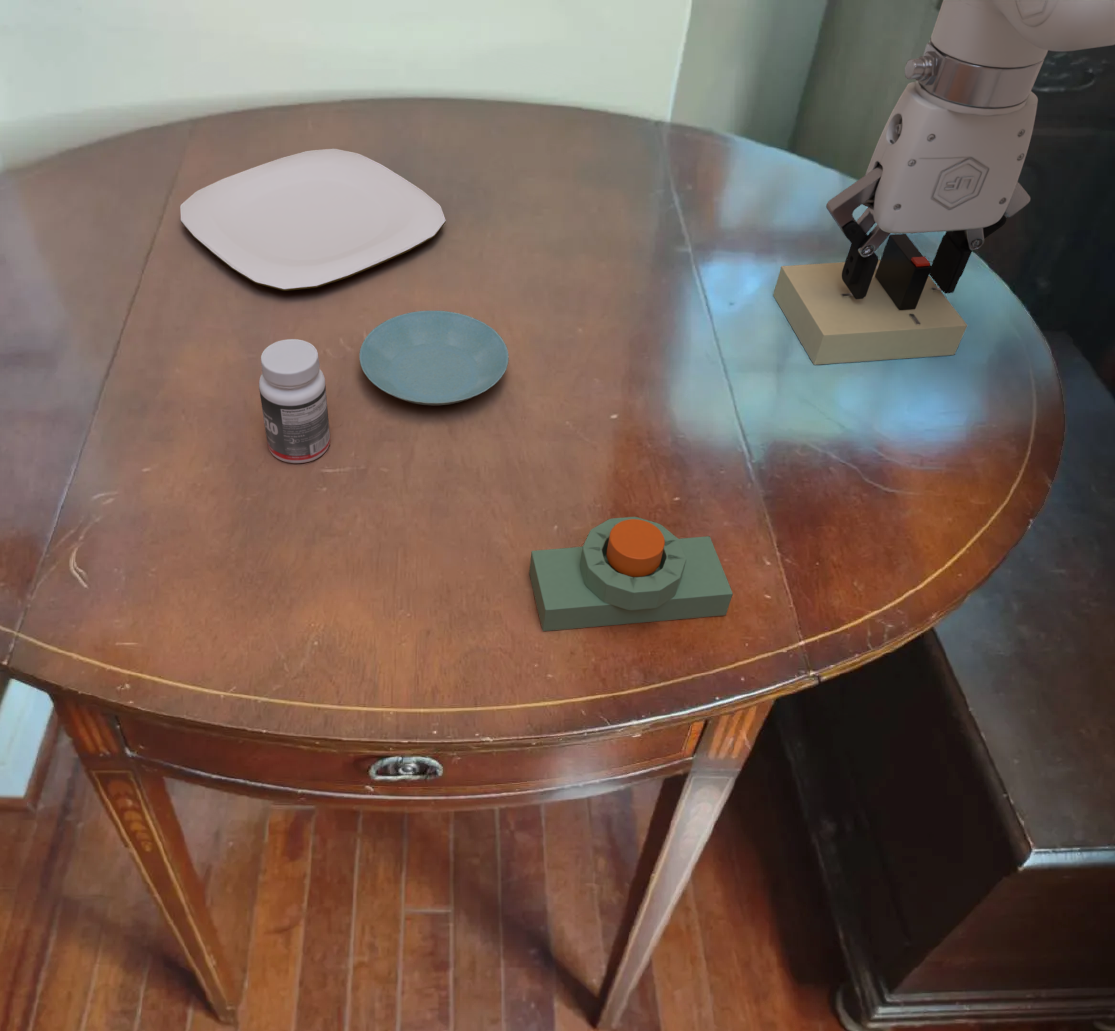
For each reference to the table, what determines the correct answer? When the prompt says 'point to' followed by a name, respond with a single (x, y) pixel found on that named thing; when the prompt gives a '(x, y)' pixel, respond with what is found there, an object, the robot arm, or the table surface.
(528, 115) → the table surface
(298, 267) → the plate
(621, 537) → the button
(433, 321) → the saucer
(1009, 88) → the robot arm
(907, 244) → the knob
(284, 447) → the pill bottle
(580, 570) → the block
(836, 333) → the panel
